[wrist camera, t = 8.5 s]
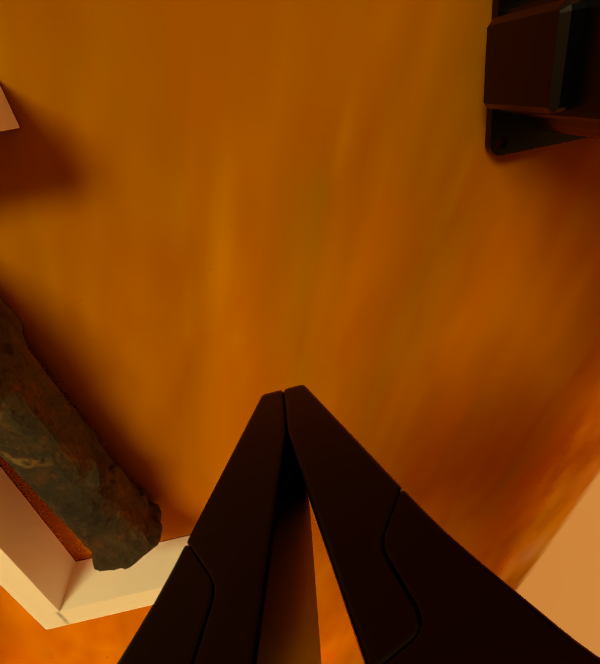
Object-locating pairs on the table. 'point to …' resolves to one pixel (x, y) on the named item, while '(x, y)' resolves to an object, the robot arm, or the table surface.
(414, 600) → the robot arm
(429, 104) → the table surface
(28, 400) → the hand tool
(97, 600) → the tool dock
